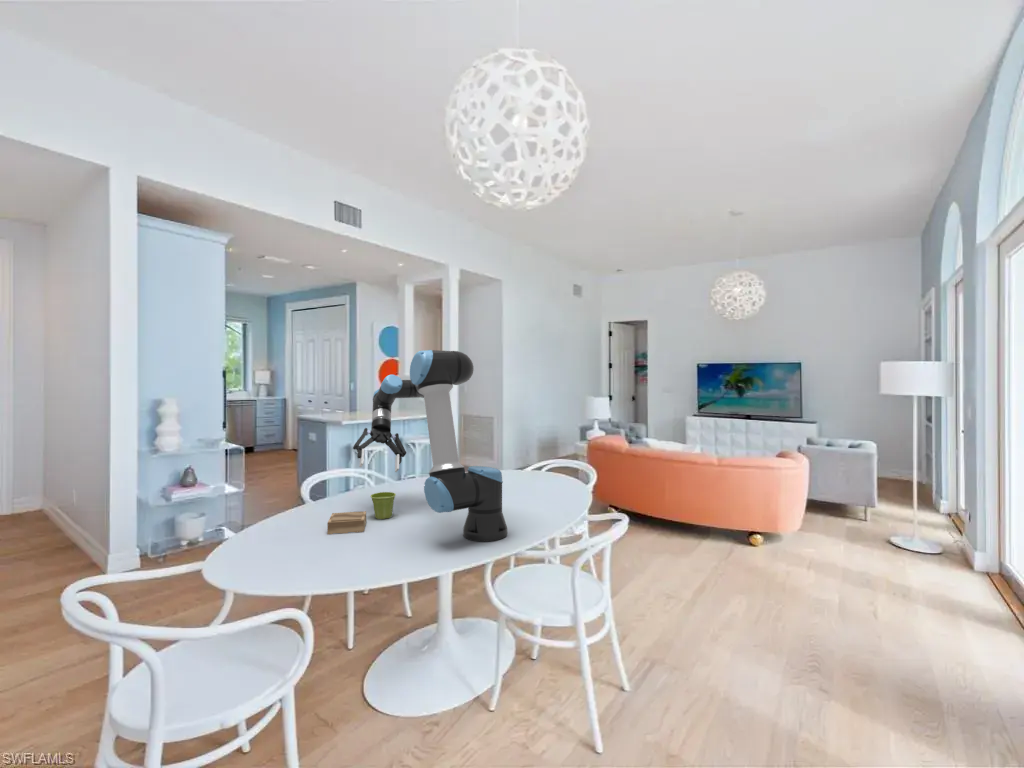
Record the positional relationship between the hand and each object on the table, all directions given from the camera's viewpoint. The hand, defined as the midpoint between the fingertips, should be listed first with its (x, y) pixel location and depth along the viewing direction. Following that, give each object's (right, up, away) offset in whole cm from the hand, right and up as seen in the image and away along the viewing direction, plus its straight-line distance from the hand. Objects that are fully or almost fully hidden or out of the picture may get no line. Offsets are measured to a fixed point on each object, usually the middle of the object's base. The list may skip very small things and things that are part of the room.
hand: (379, 468), depth 189 cm
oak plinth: (-9, -20, -10) cm, 24 cm away
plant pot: (+1, -20, +4) cm, 20 cm away
